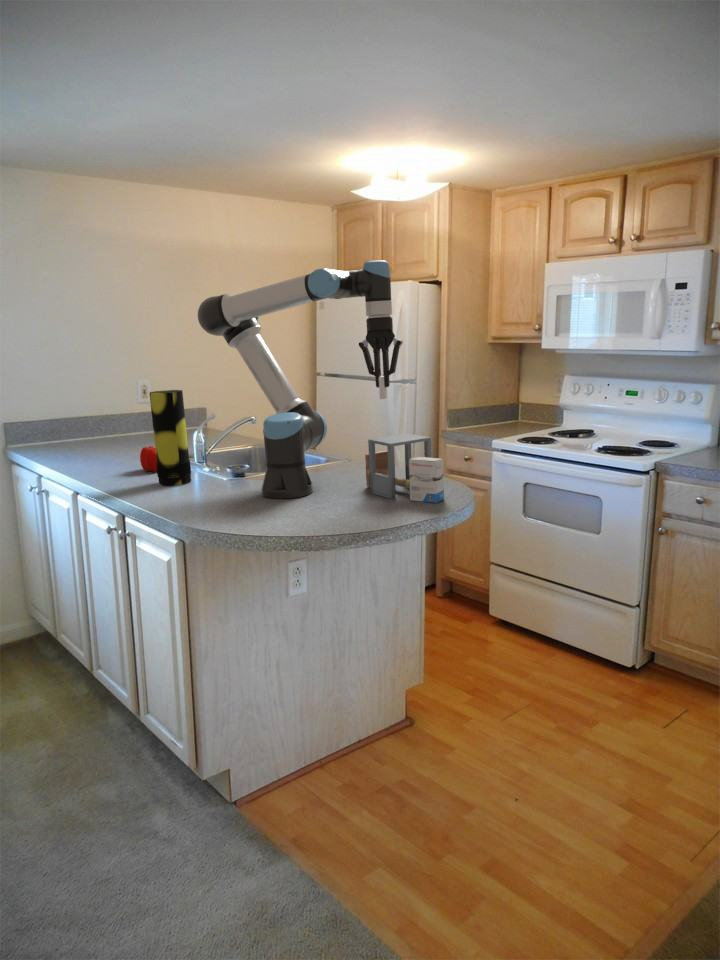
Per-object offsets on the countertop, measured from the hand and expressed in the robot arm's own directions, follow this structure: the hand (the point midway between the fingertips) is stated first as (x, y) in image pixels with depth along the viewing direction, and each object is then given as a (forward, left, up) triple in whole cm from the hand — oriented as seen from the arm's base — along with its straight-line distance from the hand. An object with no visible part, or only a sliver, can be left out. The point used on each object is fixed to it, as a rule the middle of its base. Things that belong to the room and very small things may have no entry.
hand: (383, 398), depth 208 cm
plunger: (0, -7, -27) cm, 28 cm away
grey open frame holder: (0, -8, -27) cm, 28 cm away
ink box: (-1, -21, -27) cm, 34 cm away
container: (-47, +53, -27) cm, 76 cm away
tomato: (-45, +78, -27) cm, 94 cm away
